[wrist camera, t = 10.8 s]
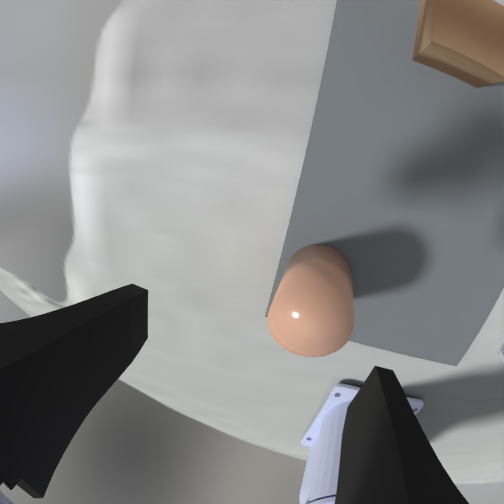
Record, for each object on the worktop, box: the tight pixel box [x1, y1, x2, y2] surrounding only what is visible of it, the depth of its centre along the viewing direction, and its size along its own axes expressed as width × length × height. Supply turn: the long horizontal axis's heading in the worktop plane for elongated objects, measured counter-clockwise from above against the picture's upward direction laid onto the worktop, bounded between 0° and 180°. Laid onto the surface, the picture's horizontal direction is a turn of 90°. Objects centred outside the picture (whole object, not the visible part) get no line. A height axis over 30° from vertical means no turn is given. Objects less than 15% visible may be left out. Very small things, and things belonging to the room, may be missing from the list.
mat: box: [265, 0, 504, 366], centre depth 14 cm, size 22×15×1 cm
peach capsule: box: [268, 244, 354, 357], centre depth 16 cm, size 4×4×5 cm
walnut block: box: [412, 0, 504, 88], centre depth 9 cm, size 4×4×4 cm
